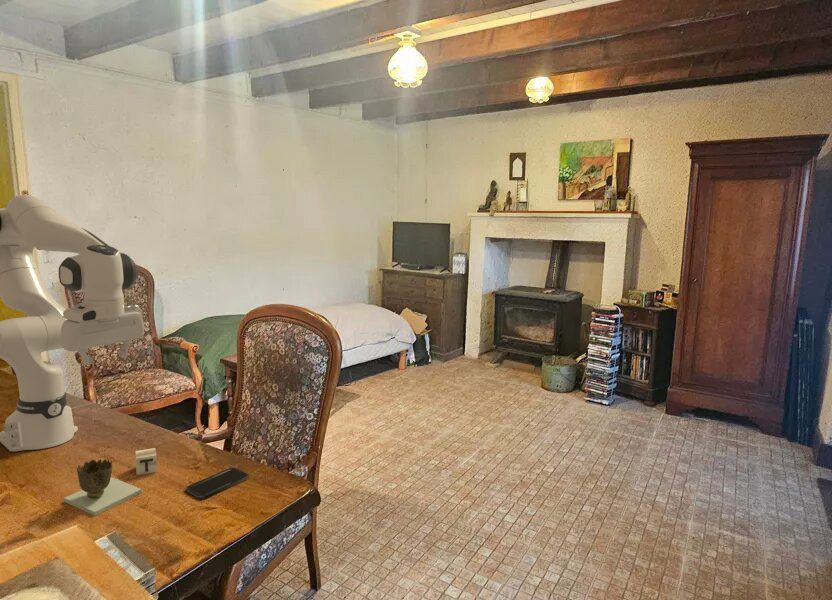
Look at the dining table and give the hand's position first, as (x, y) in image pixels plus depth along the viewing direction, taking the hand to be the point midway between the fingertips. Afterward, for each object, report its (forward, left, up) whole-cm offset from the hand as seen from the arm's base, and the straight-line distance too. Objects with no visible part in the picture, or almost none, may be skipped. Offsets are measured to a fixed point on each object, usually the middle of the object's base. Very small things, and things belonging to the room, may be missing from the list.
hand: (106, 360), depth 134 cm
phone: (+28, +11, -33) cm, 45 cm away
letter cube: (+6, +6, -32) cm, 33 cm away
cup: (+9, -10, -31) cm, 34 cm away
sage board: (+9, -8, -32) cm, 34 cm away
